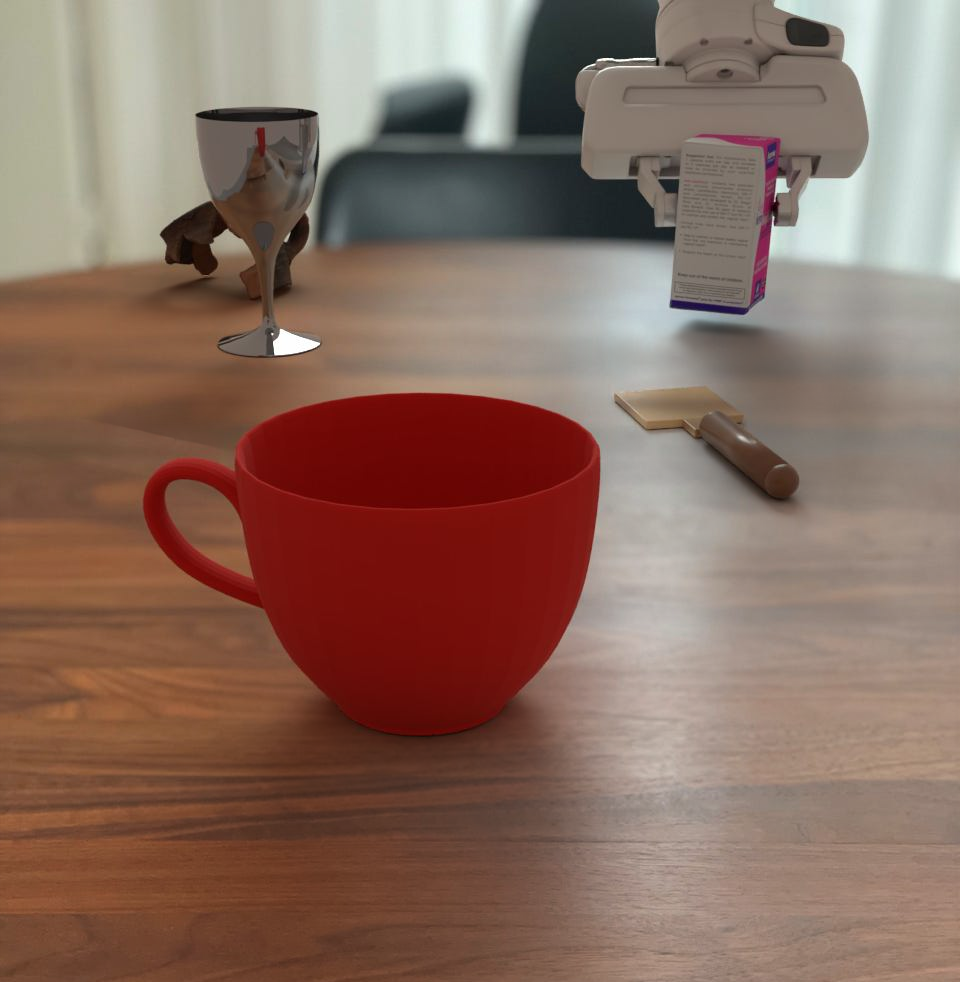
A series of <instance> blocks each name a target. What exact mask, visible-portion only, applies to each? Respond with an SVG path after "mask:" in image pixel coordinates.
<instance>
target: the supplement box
mask: <svg viewBox="0 0 960 982" xmlns="http://www.w3.org/2000/svg"><path fill="white" fill-rule="evenodd" d="M780 142H781V139H780V138H775V137H763V136H742V135H717V134H700V135H698V136H695V137H693V138H690V139H688V140H686V141H684V142H682V152H681V164H680V178H679V179H678V181H679V182H678V192H677V196H678V203H677V218H676V227H675V232H674V235H675V236H674V248H673V261H672V275H671V287H670V297H669V305H668V306H669V309H673V310H682V311H693V312H704V313H714V314H715V313H716V314H723V315H732V316H745V315H747V314H748V313H749V311H750V310H751V309H752V308H754V306H756V305H757V304H758V303H760V302H761V301H763V300H764V298H765V296H766V287H767V276H768V269H769V268H768V267H769V260H770V259H769V256H770V248H771V237H772V228H773V220H774V216H773V204H774V202H775V198H776V187H777V180H778V179H777V170H778V160H779V150H780Z"/></svg>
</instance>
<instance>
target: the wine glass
mask: <svg viewBox="0 0 960 982" xmlns="http://www.w3.org/2000/svg"><path fill="white" fill-rule="evenodd" d="M319 118H320V117H319V112H317V111H315V110H312V109H305V108H299V107H287V106H286V107H283V106H243V107H242V106H240V107H237V106H236V107H224V108H214V109H207V110H202V111H199V112H196V113H195V114H194V123H195V125H194V126H195V139H196V145H197V155H198V161H199V165H200V169H201V174H202V177H203V181H204V185H205V188H206V191H207V194H208V197H209V199H210V201H212V204H213V205H214V207H215V208H216V210H217V211H218V212H219V214H220V215H221V216H222V217H223V218H224V219H225V220H226V221H227V222H228V224H229V225H230V226H231V227H232V228H233V229H234V230H235V231H236V232H237V234H238V235H239V236H240V237H241V238H242V239H241V240H242V241H243V242H244V244H245V245H246V246H247V248H248V250H249V251H250V253H251V255H252V258H253V261H254V264H255V263H256V267H257V272H258V277H259V283H260V289H261V296H260V297H261V309H262V311H261V313H262V321H261V324H260V325H259V326H257V327H256V328H254V329H249V330H242V331H237V332H234V333H231V334H227V335H225V336H223V337H221V338H220V339H219V340H218V341H217V346H218V349H219V348H220V349H221V350H222V351H224V352H226V353H229V354H234V355H238V356H239V355H240V356H244V357H245V356H247V357H282V356H284V357H285V356H291V355H297V354H298V355H299V354H301V353H306V352H309V351H312V350H315V349H317V348H318V347H320V345H321V344H322V338H321V337H320V336H319V335H317V334H315V333H312V332H310V331H305V330H300V329H292V328H283V327H282V326H280V325H279V324H277V321H276V318H275V309H274V307H275V306H274V290H273V283H274V269H275V261H276V257H277V254H278V252H279V249H280V247H281V245H282V243H283V242H285V240H286V238H287V237H288V236H289V235H290V231H291V230H292V229H293V228H294V226H295V225H296V224H297V222H298V221H299V220H300V218H301V217H302V216H303V214H304V213H307V210H308V208H309V207H310V205H311V203H312V199H313V197H314V193H315V189H316V184H317V179H318V172H319V164H320V163H319V162H320V119H319Z"/></svg>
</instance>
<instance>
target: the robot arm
mask: <svg viewBox="0 0 960 982" xmlns="http://www.w3.org/2000/svg"><path fill="white" fill-rule="evenodd" d="M656 1H657V4H658V6H659V9H658V12H657V16H656V19H655V27H654V28H655V29H654V31H655V54H656V57H652V58H650V57H643V58H642V57H640V58H639V57H637V58H636V57H635V58H628V59H627V58H626V59H615V58H611V57H610V58H608V57H606V58H598V59H596V60H595V63H593V64H590V65H587V66H585V67H583V68H582V69H581V70H580V71H579V72H578V74H577V76H576V78H575V100H576V103H577V105H578V107H579V108H580V109H581V110H582V111H583V112H584V118H583V126H582V137H581V151H580V152H581V155H580V167H581V169H582V170H583V171H584V172H585V173H586V174H587V175H588V176H589V177H590V178H591V179H594V180H637V190H638V192H639V193H640V194H641V195H642V196H643V198H644V199H645V200H646V202H647V203H648V204H649V206H650V207H651V208H652V209H653V212H654V213H653V214H654V216H653V217H654V227H655V228H672V227H673V228H676V218H677V204H678V192H666V190H665V188H664V187H663V186H662V184H661V183H660V181H659V180H679V178H680V164H681V152H682V142H684V141H686V140H688V139H690V138H693V137H695V136H698V135H700V134H717V135H742V136H763V137H775V138H780V139H781V142H780V150H779V160H778V170H777V179H776V180H778V179H779V180H781V179H785V183H786V188H787V189H789V190H788V192H776V193H775V199H774V204H773V220H772V223H773V227H780V228H781V227H783V228H787V227H792V228H793V227H794V228H795V227H796V226H797V223H798V219H799V215H800V208H799V207H800V206H799V201H800V199H801V198H802V196H803V194H804V193H805V191H806V189H807V187H808V184H809V182H810V179H849V178H851V177H852V176H853V175H855V174H856V172H857V171H858V170H859V168H860V167H861V165H862V164H863V161H864V159H865V156H866V154H867V150H868V147H869V141H870V132H869V122H868V117H867V111H866V106H865V101H864V98H863V97H864V96H863V93H862V90H861V86H860V83H859V80H858V78H857V75H856V74H855V72H854V70H853V69H852V68H851V67H850V66H849V65H848V64H847V63H845V62H844V61H843V58H844V51H845V42H846V41H845V40H846V39H845V34H844V32H843V30H842V29H841V28H840V27H838V26H836V25H833V24H830V23H826V22H821V21H818V20H815V19H810V18H807V17H804V16H801V15H797V14H794V13H791V12H788V11H785V10H783V9H781V8H778V7H776V6H775V3H776V2H775V1H776V0H656Z"/></svg>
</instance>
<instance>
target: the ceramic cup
mask: <svg viewBox="0 0 960 982" xmlns="http://www.w3.org/2000/svg"><path fill="white" fill-rule="evenodd" d="M234 451H235V453H234V470H233V469H231V468H230V467H227V466H225V465H224V464H221V463H219V462H217V461H214V460H210V459H207V458H202V457H194V456H193V457H192V456H190V457H188V456H187V457H186V456H185V457H178V458H175V459H171V460H169V461H167V462H165V463H163V464H162V465H161V466H159V467H158V468H157V469H156V470H155V471H154V472H153V474H151V476H150V478H149V479H148V481H147V483H146V485H145V487H144V492H143V497H142V511H143V517H144V520H145V523H146V525H147V529H148V530H149V532H150V534H151V537H152V539H154V541H155V543H156V544H157V546H158V547H159V548H160V550H161V551H162V552H163V553H164V555H165V556H166V557H167V558H168V559H169V560H170V561H171V562H172V563H173V564H174V565H175V566H176V567H177V568H179V569H180V570H181V571H183V572H184V573H185V574H186V575H188V576H190V577H191V578H192V579H194V580H196V581H197V582H199V583H200V584H203V585H204V586H206V587H208V588H210V589H212V590H214V591H217V592H219V593H221V594H223V595H225V596H228V597H230V598H233V599H235V600H238V601H241V602H243V603H245V604H249V605H251V606H254V607H257V608H259V609H262V610H264V612H265V614H266V616H267V618H268V621H269V623H270V624H271V627H272V628H273V631H274V633H275V635H276V637H277V639H278V641H279V643H280V644H281V646H282V648H283V649H284V651H285V652H286V653H287V655H288V656H289V658H290V659H291V660H292V662H293V663H294V664H295V666H297V667H298V669H299V670H300V671H301V672H302V673H303V674H304V675H305V677H307V679H308V680H309V681H311V682H312V684H314V686H316V687H317V688H318V689H319V691H321V692H322V693H323V694H324V695H325V696H326V697H327V698H329V699H330V700H331V701H332V702H333V703H335V704H336V705H337V706H338V708H339V710H340V711H342V713H343V714H345V716H346V717H347V718H349V719H350V720H353V721H354V722H356V723H357V724H360V725H361V726H364V727H366V728H369V729H371V730H375V731H379V732H384V733H387V734H388V733H389V734H396V735H401V736H402V735H403V736H419V735H420V736H419V737H421V736H422V737H423V736H439V735H447V734H452V733H457V732H461V731H465V730H469V729H473V728H475V727H477V726H479V725H482V724H485V723H487V721H490V720H491V719H492V718H495V717H496V716H497V715H498V714H499V713H501V711H502V710H503V709H505V707H506V705H507V703H508V702H509V701H510V700H511V699H512V698H513V697H515V696H516V695H517V694H518V693H519V692H520V691H521V690H522V689H523V688H524V687H526V685H527V684H528V683H530V681H531V680H533V678H534V677H535V676H536V675H537V674H538V673H539V672H540V671H541V670H542V668H543V667H544V665H546V663H547V662H548V661H549V659H550V658H551V657H552V655H553V654H554V652H555V650H556V649H557V647H558V646H559V644H560V642H561V640H562V638H563V636H564V635H565V633H566V631H567V629H568V627H569V625H570V623H571V621H572V619H573V617H574V614H575V612H576V611H577V607H578V604H579V601H580V599H581V596H582V593H583V589H584V586H585V583H586V579H587V576H588V575H587V574H588V571H589V566H590V563H591V562H590V561H591V555H592V550H593V545H594V539H595V532H596V523H597V518H598V517H597V516H598V508H599V499H600V488H601V449H600V445H599V444H598V442H597V440H596V438H595V437H594V436H593V434H592V433H591V432H590V431H589V430H587V429H586V428H585V427H584V426H582V425H581V424H580V423H579V422H577V421H575V420H573V419H571V418H570V417H567V416H565V415H563V414H562V413H559V412H556V411H553V410H549V409H547V408H544V407H540V406H538V405H533V404H528V403H524V402H520V401H516V400H511V399H504V398H498V397H492V396H486V395H475V394H466V393H465V394H463V393H452V392H397V393H395V392H394V393H379V394H370V395H369V394H368V395H357V396H351V397H344V398H338V399H331V400H326V401H321V402H318V403H317V402H316V403H312V404H308V405H304V406H300V407H296V408H294V409H291V410H288V411H284V412H282V413H279V414H276V415H274V416H272V417H270V418H268V419H266V420H264V421H261V422H260V423H257V424H256V425H254V426H253V427H252V428H251V429H250V430H248V431H247V432H246V433H244V434H243V436H242V437H241V438H240V440H239V441H238V443H237V444H236V446H235V450H234ZM179 480H189V481H194V482H198V483H202V484H205V485H207V486H210V487H211V488H213V489H215V490H216V491H218V492H219V493H220V494H221V495H223V496H224V497H225V498H226V499H227V500H228V501H229V503H230V504H231V505H232V507H233V508H234V510H235V511H236V513H237V515H238V518H239V521H240V522H241V526H242V531H243V537H244V542H245V547H246V548H245V549H246V553H247V558H248V562H249V566H250V570H251V574H252V577H253V578H252V577H250V576H246V575H244V574H241V573H239V572H237V571H234V570H232V569H230V568H228V567H226V566H224V565H222V564H220V563H219V562H216V561H214V560H213V559H210V558H209V557H208V556H206V555H204V554H203V553H202V552H200V551H199V550H198V549H196V548H195V547H194V546H193V545H192V544H191V543H190V542H189V541H188V540H187V538H185V537H184V536H183V534H182V533H181V532H180V531H179V529H178V527H177V526H176V524H175V523H174V522H173V519H172V518H171V516H170V514H169V511H168V508H167V503H166V491H167V489H168V486H169V485H170V483H173V482H175V481H179ZM432 734H434V735H432Z"/></svg>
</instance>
